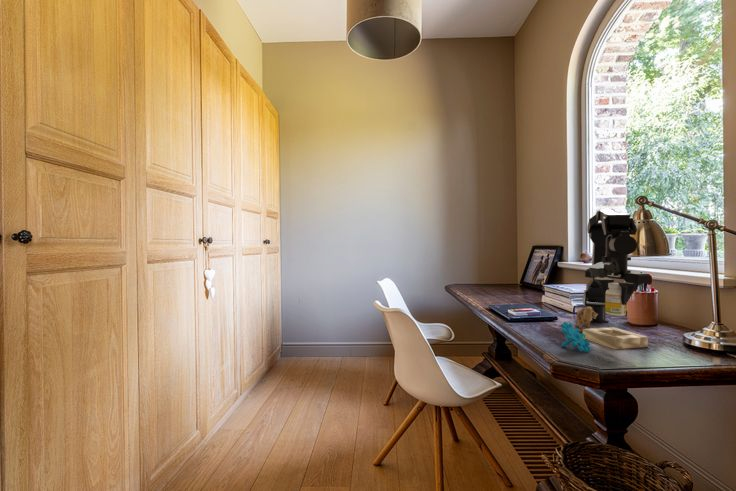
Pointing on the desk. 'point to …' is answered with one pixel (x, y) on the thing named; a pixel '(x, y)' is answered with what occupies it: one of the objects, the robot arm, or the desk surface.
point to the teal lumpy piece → (575, 337)
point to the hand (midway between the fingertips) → (615, 303)
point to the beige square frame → (615, 338)
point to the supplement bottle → (614, 300)
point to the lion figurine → (585, 317)
